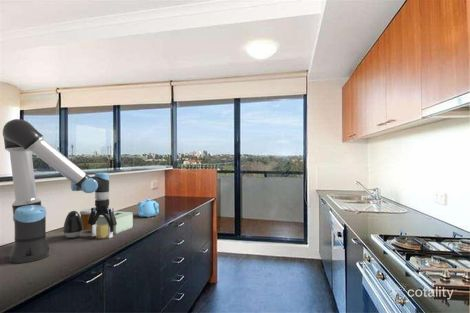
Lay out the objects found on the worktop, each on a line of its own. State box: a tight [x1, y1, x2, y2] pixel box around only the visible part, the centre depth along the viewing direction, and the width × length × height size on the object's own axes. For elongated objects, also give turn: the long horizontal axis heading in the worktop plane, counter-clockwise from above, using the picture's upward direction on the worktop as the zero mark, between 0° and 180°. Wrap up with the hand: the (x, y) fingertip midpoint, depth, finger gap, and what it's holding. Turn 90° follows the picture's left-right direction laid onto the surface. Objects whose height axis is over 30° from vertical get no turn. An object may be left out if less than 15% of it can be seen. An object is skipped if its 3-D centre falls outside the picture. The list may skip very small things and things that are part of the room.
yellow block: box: [95, 224, 108, 240], centre depth 160 cm, size 6×3×7 cm, turn 164°
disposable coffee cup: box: [79, 208, 91, 231], centre depth 180 cm, size 10×10×12 cm
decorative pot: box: [136, 198, 160, 218], centre depth 218 cm, size 16×16×14 cm
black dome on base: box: [62, 210, 84, 239], centre depth 161 cm, size 10×10×15 cm
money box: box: [96, 210, 134, 235], centre depth 177 cm, size 16×14×10 cm
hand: (102, 236), depth 160 cm, fingers open, 11 cm apart
